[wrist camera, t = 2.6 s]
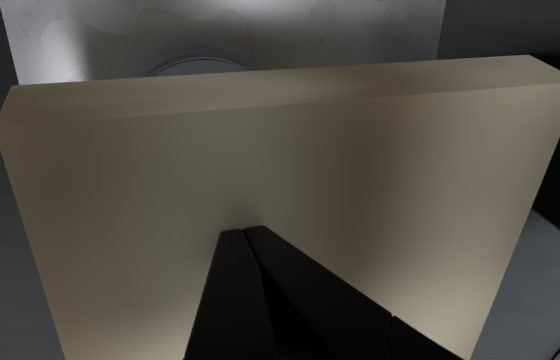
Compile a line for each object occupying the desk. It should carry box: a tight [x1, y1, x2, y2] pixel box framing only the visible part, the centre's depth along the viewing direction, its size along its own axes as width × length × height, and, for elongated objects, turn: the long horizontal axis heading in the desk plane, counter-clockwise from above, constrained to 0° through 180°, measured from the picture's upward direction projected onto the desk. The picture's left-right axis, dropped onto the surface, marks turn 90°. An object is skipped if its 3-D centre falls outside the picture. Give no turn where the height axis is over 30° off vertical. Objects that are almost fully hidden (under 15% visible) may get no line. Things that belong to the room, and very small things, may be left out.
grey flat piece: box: [0, 0, 446, 85], centre depth 18 cm, size 12×25×4 cm, turn 179°
